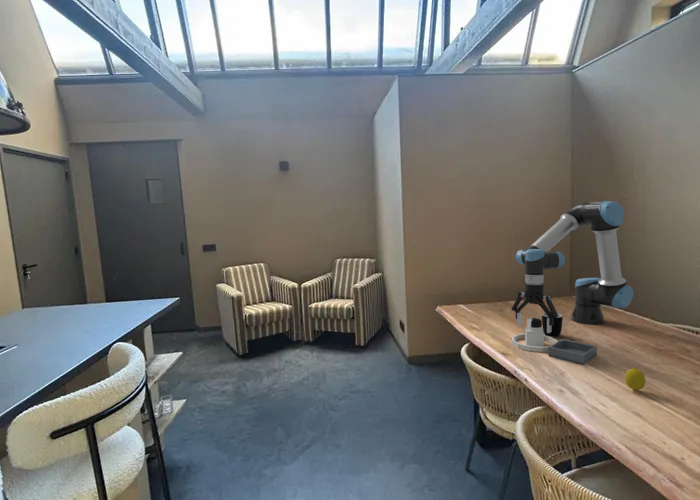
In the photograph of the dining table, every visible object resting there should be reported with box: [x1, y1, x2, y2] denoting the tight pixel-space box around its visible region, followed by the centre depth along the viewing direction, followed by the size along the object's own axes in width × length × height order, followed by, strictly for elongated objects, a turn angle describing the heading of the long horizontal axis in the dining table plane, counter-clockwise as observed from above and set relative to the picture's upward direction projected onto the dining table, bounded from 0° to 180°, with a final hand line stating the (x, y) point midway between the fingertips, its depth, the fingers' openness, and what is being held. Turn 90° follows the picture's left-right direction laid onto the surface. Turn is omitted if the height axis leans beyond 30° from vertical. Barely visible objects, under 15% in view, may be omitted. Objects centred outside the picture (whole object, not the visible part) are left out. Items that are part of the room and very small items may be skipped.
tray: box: [548, 338, 598, 366], centre depth 162 cm, size 14×14×4 cm
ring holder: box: [511, 333, 558, 353], centre depth 178 cm, size 19×19×2 cm
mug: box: [541, 312, 563, 338], centre depth 190 cm, size 12×9×10 cm
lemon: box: [624, 367, 646, 392], centre depth 130 cm, size 6×6×8 cm
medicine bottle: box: [524, 317, 545, 347], centre depth 177 cm, size 7×7×12 cm
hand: (533, 329), depth 177 cm, fingers open, 13 cm apart
